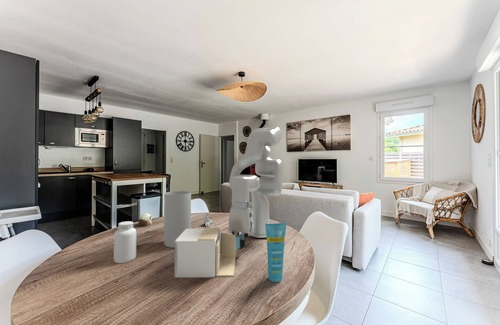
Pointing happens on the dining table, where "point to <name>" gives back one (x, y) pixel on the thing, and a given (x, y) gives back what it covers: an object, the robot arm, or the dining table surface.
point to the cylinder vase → (176, 215)
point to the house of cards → (207, 220)
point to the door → (229, 245)
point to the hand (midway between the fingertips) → (240, 247)
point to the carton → (201, 254)
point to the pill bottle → (125, 242)
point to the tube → (275, 250)
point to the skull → (144, 220)
